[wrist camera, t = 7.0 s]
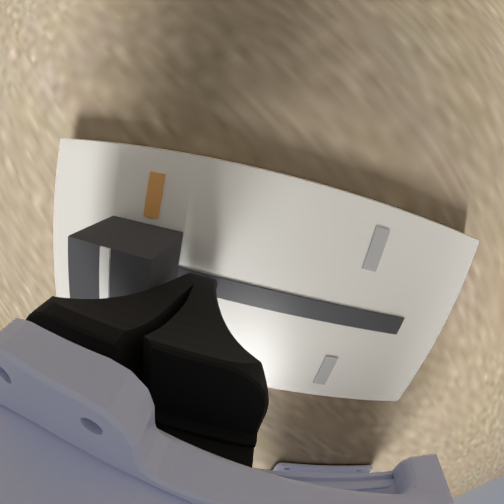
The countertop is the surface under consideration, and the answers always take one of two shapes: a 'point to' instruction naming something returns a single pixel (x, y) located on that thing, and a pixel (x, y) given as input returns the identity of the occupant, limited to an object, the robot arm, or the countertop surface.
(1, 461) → the robot arm
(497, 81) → the countertop surface
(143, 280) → the fader knob
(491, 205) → the countertop surface
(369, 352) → the fader console
